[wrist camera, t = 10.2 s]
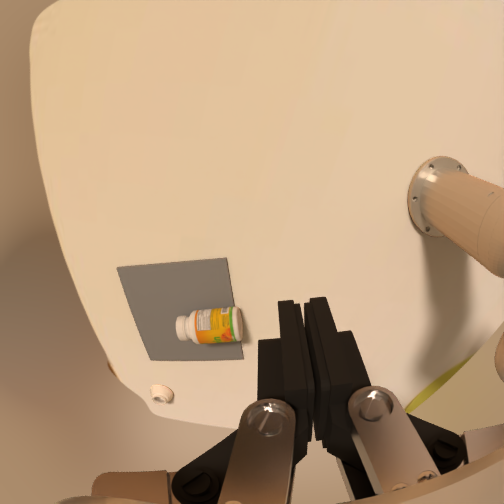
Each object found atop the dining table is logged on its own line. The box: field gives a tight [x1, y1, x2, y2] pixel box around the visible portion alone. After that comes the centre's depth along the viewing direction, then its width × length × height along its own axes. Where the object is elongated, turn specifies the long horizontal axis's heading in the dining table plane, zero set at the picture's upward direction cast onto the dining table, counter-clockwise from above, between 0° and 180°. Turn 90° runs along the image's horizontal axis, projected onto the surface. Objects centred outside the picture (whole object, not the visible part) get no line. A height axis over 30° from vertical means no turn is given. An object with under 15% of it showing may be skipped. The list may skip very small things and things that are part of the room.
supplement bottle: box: [176, 306, 243, 344], centre depth 45 cm, size 5×5×10 cm
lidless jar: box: [150, 385, 173, 405], centre depth 56 cm, size 5×3×5 cm
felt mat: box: [117, 258, 243, 361], centre depth 48 cm, size 18×20×1 cm
